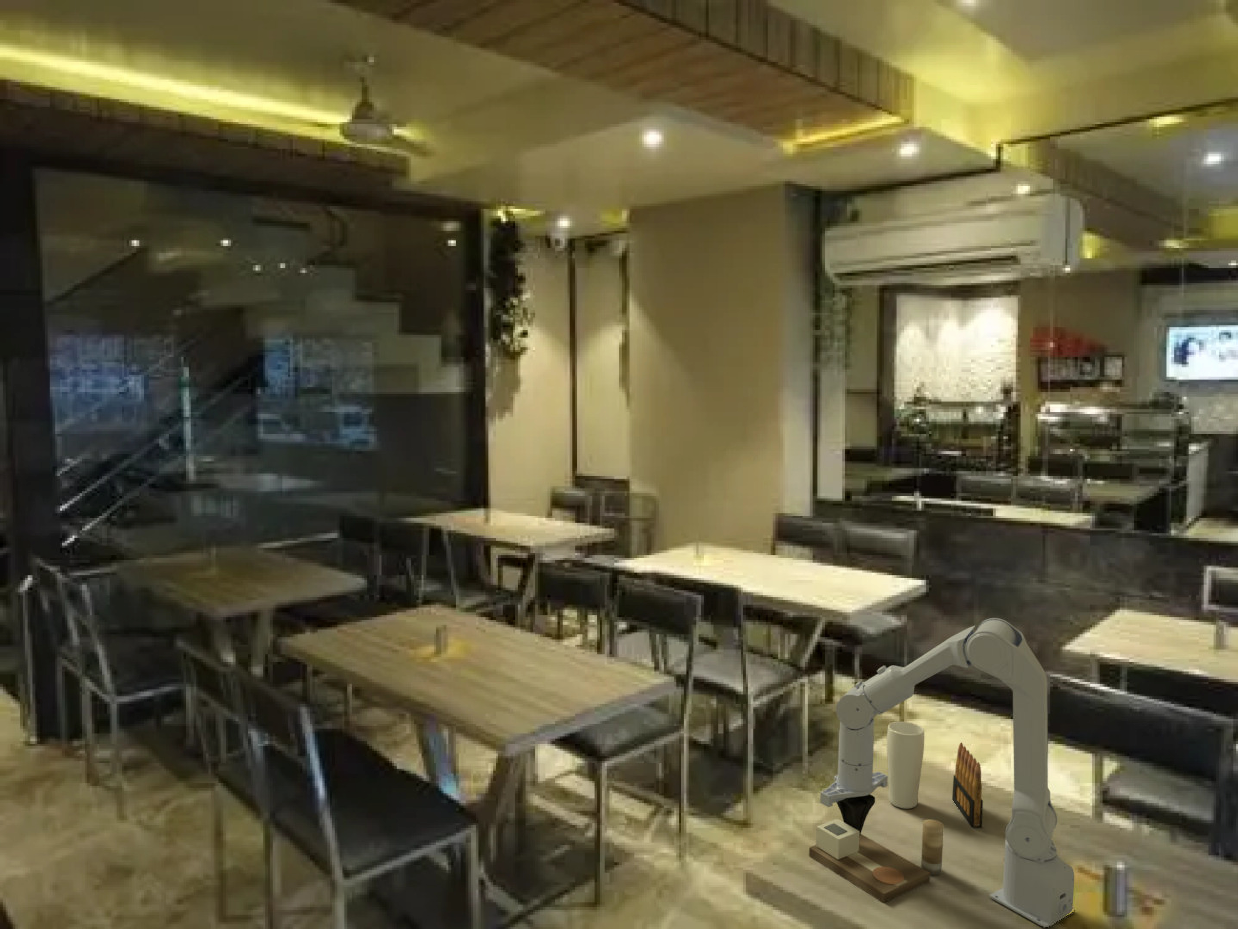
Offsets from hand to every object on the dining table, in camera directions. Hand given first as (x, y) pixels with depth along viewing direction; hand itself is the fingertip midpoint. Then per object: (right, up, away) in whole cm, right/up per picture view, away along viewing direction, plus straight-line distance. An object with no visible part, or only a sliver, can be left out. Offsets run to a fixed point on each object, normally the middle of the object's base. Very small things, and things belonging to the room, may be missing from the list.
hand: (852, 835), depth 152 cm
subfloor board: (+1, -4, -5) cm, 6 cm away
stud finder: (-3, -2, -2) cm, 4 cm away
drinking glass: (+14, -2, +18) cm, 23 cm away
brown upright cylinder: (+12, -4, -5) cm, 13 cm away
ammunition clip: (+25, -2, +14) cm, 29 cm away
